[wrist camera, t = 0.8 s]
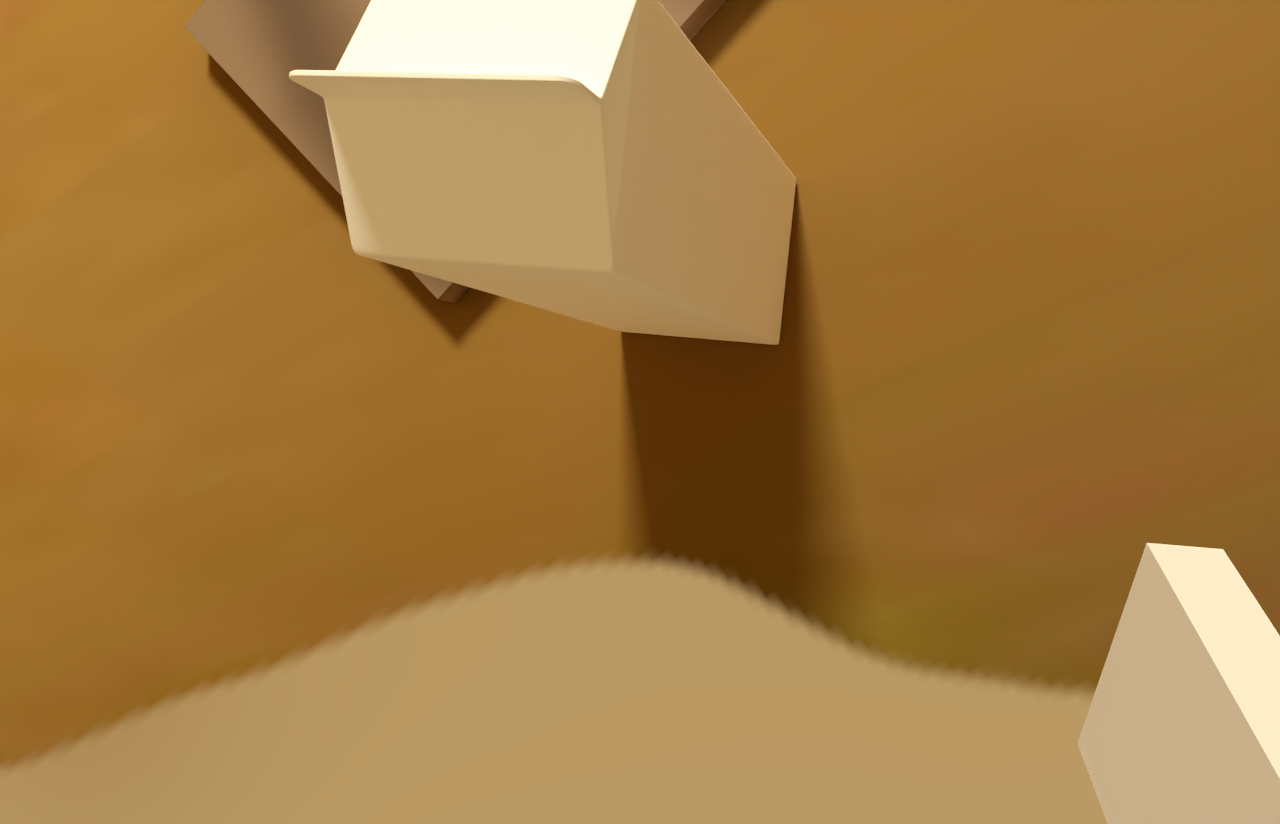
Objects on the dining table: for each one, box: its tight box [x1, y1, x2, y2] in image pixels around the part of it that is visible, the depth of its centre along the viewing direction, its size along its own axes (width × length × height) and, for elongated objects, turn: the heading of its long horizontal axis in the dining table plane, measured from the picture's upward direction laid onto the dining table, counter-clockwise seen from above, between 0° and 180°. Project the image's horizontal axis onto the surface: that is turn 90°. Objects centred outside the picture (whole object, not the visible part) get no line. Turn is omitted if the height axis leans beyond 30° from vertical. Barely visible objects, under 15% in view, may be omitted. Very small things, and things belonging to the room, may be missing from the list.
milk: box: [289, 0, 796, 345], centre depth 32 cm, size 6×6×22 cm
